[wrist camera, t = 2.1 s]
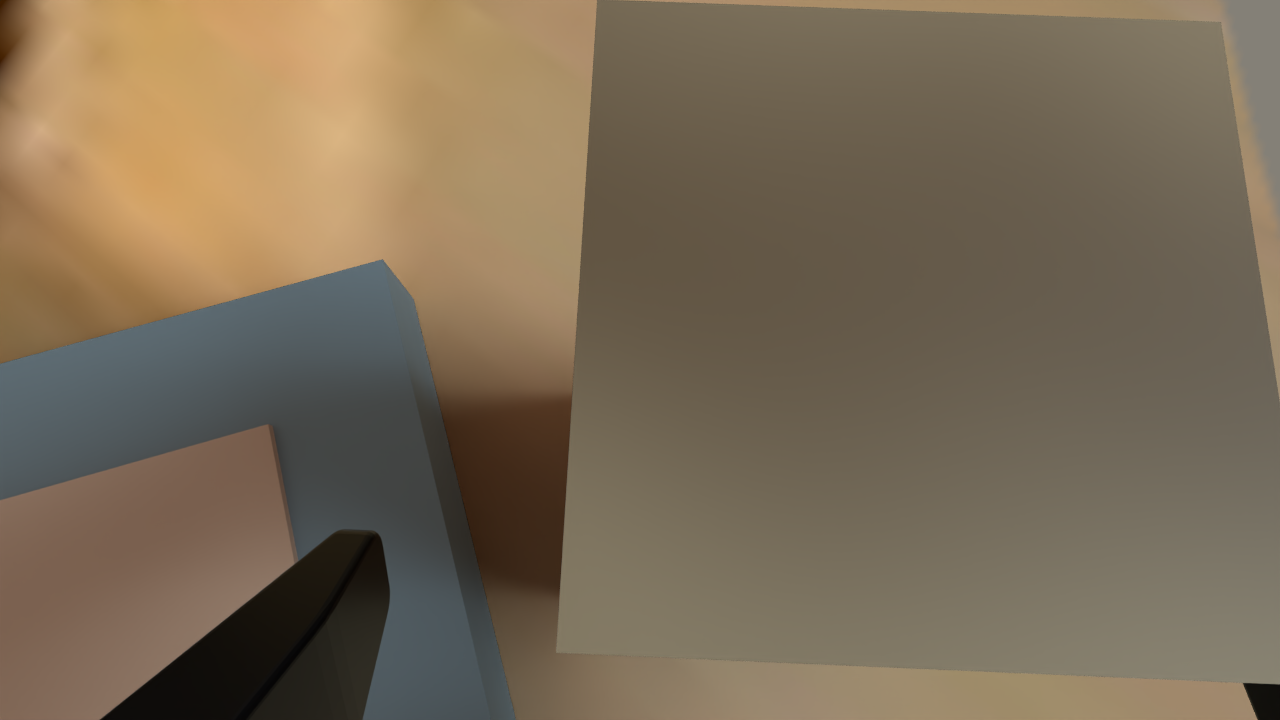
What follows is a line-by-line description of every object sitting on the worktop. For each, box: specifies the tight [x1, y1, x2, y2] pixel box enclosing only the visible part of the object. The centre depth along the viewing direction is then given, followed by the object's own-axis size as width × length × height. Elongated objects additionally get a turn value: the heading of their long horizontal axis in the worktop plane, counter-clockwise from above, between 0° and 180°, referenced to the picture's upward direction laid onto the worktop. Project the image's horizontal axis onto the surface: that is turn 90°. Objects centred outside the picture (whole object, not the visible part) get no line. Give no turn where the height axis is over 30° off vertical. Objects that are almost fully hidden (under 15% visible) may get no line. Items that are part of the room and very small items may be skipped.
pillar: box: [556, 0, 1280, 684], centre depth 12 cm, size 4×4×13 cm
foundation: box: [0, 259, 516, 720], centre depth 16 cm, size 11×11×3 cm
